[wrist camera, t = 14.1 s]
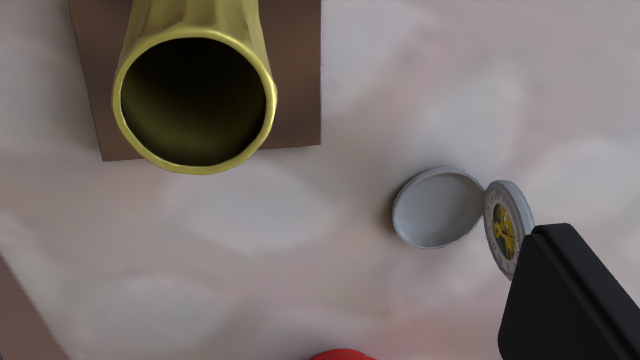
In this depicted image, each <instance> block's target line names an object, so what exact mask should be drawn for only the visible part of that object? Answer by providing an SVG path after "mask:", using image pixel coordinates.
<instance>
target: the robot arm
mask: <svg viewBox="0 0 640 360" xmlns="http://www.w3.org/2000/svg"><path fill="white" fill-rule="evenodd" d="M498 348H499V351H500V354H501V357H502V359H503V360H640V309H639V307H638V306H637V305H636V304H635V302H634V301H633V300H632V299H631V298H630V296H629V295H628V294H627V293H626V291H625V290H624V289H623V288H622V286H621V285H620V284H619V283H618V282H617V280H616V279H615V278H614V277H613V275H612V274H611V273H610V272H609V270H608V269H607V268H606V267H605V266H604V264H603V263H602V262H601V261H600V259H599V258H598V257H597V256H596V254H595V253H594V252H593V251H592V250H591V248H590V247H589V246H588V245H587V243H586V242H585V241H584V240H583V238H582V237H581V236H580V235H579V234H578V232H577V231H576V230H575V229H574V228H573V227H572V226H571V225H570V224H568V223H559V224H548V225H538V226H535V227H534V228H533V229H532V231H531V234H528V235H525V237H524V238H523V241H522V244H521V248H520V252H519V256H518V260H517V264H516V268H515V271H514V275H513V279H512V283H511V287H510V291H509V295H508V298H507V302H506V306H505V310H504V314H503V318H502V322H501V326H500V329H499V333H498ZM0 360H3V359H2V356H1V354H0Z"/></svg>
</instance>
